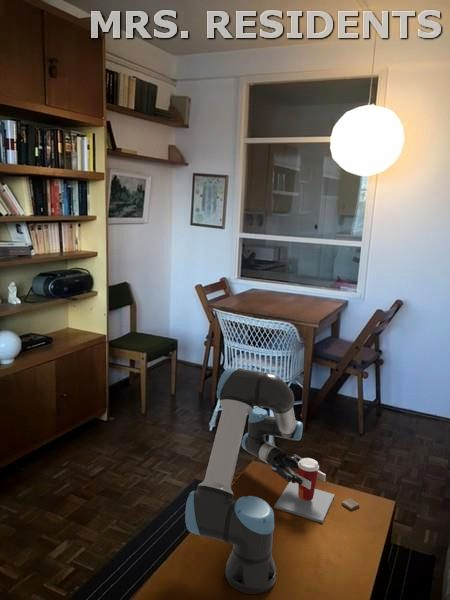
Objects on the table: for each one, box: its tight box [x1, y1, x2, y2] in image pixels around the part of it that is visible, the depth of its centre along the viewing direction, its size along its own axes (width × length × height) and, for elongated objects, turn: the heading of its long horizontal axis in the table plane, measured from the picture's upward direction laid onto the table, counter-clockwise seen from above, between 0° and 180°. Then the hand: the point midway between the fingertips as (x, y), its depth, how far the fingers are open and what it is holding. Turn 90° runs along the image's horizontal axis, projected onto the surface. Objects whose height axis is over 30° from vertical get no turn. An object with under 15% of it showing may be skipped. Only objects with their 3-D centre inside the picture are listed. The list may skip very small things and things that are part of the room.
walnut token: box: [341, 497, 360, 511], centre depth 184 cm, size 4×4×2 cm
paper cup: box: [298, 457, 320, 501], centre depth 183 cm, size 8×8×14 cm
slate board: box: [273, 481, 335, 524], centre depth 184 cm, size 18×18×1 cm
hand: (317, 481), depth 179 cm, fingers closed on paper cup, 8 cm apart
